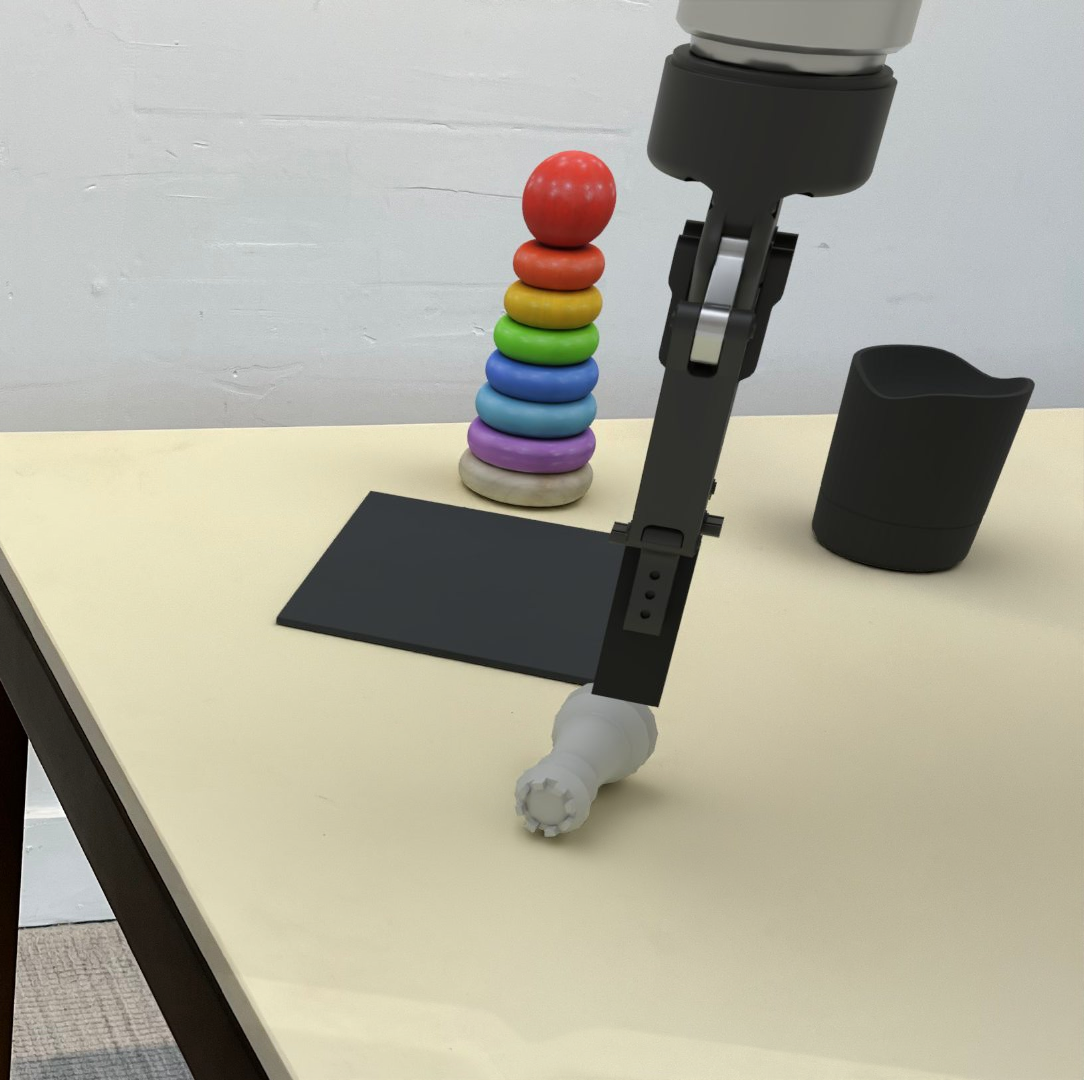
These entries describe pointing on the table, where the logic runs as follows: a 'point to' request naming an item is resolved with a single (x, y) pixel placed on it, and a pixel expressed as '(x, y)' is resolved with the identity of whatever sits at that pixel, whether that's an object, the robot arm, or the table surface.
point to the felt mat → (464, 587)
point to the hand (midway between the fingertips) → (627, 692)
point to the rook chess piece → (584, 759)
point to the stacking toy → (546, 345)
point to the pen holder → (915, 457)
